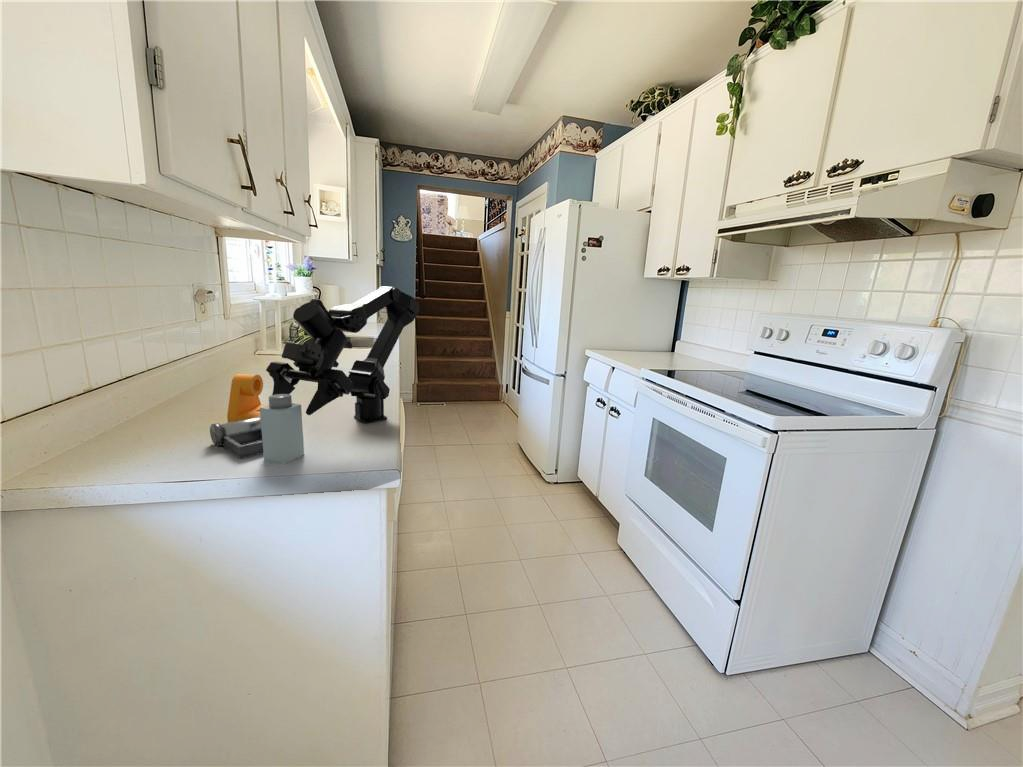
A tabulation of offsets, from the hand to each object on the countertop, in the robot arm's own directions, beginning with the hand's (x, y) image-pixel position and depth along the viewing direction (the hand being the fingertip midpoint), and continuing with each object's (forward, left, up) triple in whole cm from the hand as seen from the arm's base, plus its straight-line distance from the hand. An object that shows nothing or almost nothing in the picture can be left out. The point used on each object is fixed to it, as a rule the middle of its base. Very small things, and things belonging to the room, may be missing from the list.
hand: (289, 411), depth 87 cm
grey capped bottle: (+2, +1, -9) cm, 10 cm away
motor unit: (+4, -11, -9) cm, 15 cm away
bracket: (-1, -27, -10) cm, 29 cm away
